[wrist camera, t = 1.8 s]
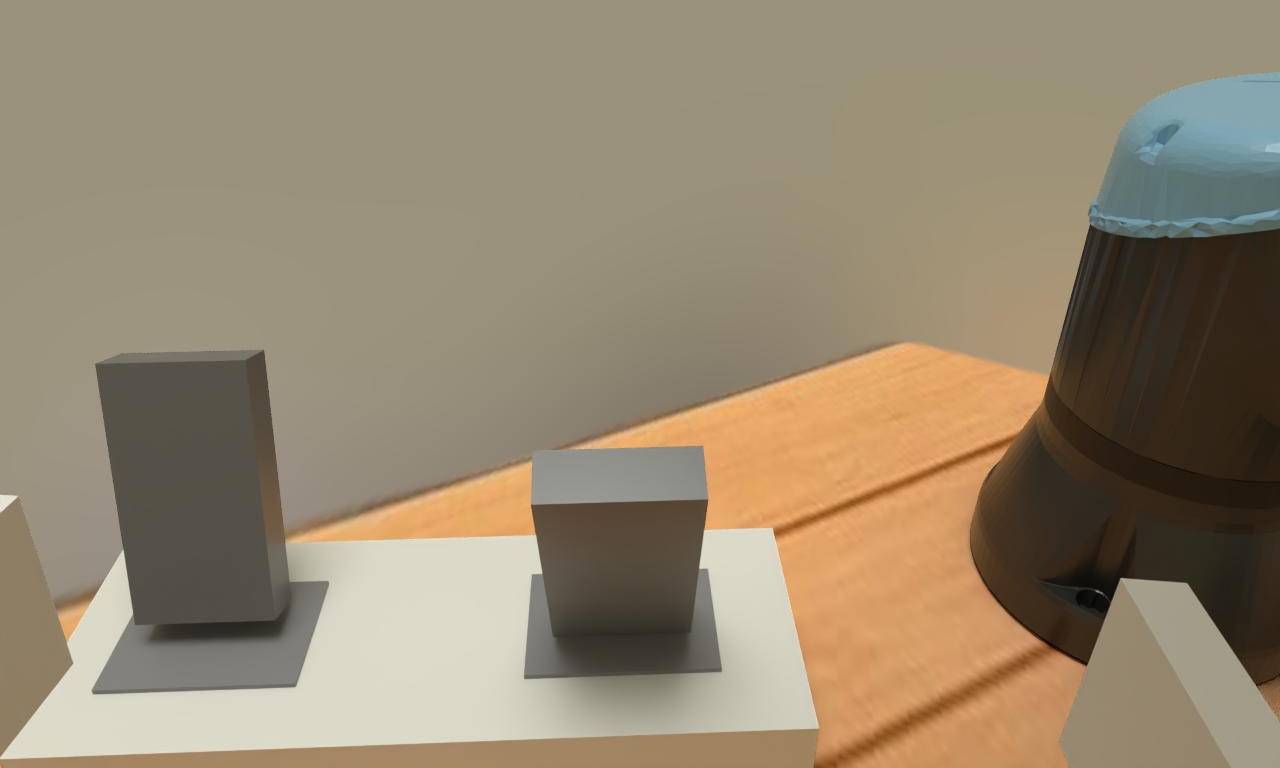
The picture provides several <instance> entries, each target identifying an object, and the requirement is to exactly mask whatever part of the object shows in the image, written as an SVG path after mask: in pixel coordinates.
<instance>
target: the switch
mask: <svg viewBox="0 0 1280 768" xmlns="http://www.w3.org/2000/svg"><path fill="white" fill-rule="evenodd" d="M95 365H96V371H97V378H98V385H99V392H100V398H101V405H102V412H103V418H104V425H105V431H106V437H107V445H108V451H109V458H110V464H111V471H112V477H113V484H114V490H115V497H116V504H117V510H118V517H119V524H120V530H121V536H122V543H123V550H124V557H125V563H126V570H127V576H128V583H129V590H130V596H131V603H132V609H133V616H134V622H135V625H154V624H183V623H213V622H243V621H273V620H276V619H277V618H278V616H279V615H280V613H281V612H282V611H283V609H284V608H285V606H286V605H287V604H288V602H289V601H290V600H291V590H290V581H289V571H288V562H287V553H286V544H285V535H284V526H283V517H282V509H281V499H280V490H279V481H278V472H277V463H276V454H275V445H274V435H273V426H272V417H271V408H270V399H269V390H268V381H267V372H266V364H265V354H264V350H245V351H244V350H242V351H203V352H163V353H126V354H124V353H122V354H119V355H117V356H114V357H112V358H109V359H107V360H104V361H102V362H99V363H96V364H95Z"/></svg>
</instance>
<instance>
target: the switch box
mask: <svg viewBox="0 0 1280 768" xmlns="http://www.w3.org/2000/svg"><path fill="white" fill-rule="evenodd" d="M285 544H286V553H287V562H288V571H289V581H290V590H291V600H290V601H289V602H288V604H287V605H286V606H285V608H284V609H283V611H282V612H281V613H280V615H279V616H278V618H277V619H276V620H273V621H243V622H213V623H183V624H154V625H135V622H134V616H133V609H132V603H131V596H130V590H129V583H128V576H127V570H126V563H125V557H124V550H123V551H122V553H121V554H120V556H119V558H118V559H117V561H116V563H115V564H114V566H113V567H112V569H111V571H110V572H109V574H108V576H107V577H106V579H105V581H104V582H103V584H102V586H101V587H100V589H99V591H98V592H97V594H96V596H95V597H94V599H93V601H92V602H91V604H90V606H89V607H88V609H87V611H86V612H85V614H84V616H83V617H82V619H81V621H80V622H79V624H78V626H77V627H76V629H75V631H74V632H73V634H72V636H71V637H70V639H69V641H68V642H67V645H68V648H69V651H70V654H71V657H72V660H73V663H74V664H73V665H72V666H71V667H70V669H69V670H68V671H67V673H66V674H65V675H64V676H63V678H62V679H61V680H60V681H59V683H58V684H57V685H56V687H55V688H54V689H53V690H52V692H51V693H50V694H49V696H48V697H47V698H46V699H45V701H44V702H43V703H42V704H41V706H40V707H39V708H38V710H37V711H36V712H35V713H34V715H33V716H32V717H31V719H30V720H29V721H28V722H27V724H26V725H25V726H24V728H23V729H22V730H21V731H20V733H19V734H18V735H17V736H16V738H15V739H14V740H13V742H12V743H11V744H10V745H9V747H8V748H7V749H6V751H5V752H4V753H3V754H2V756H1V757H0V765H1V767H2V768H813V766H814V760H815V753H816V746H817V740H818V733H819V725H818V721H817V717H816V713H815V708H814V704H813V700H812V695H811V691H810V687H809V682H808V678H807V674H806V670H805V665H804V661H803V657H802V652H801V648H800V644H799V640H798V635H797V631H796V627H795V622H794V618H793V614H792V610H791V605H790V601H789V597H788V592H787V588H786V584H785V579H784V575H783V571H782V567H781V562H780V558H779V554H778V549H777V545H776V541H775V537H774V532H773V528H752V529H720V530H704V535H703V543H702V551H701V558H700V566H699V574H698V582H697V589H696V597H695V605H694V612H693V620H692V628H691V632H690V633H661V634H632V635H603V636H574V637H553V634H552V628H551V622H550V616H549V610H548V604H547V598H546V592H545V586H544V580H543V574H542V568H541V562H540V556H539V550H538V544H537V538H536V535H527V536H495V537H463V538H431V539H399V540H367V541H335V542H303V543H285Z"/></svg>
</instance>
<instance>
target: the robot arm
mask: <svg viewBox="0 0 1280 768" xmlns="http://www.w3.org/2000/svg"><path fill="white" fill-rule="evenodd" d="M1088 216H1089V218H1090V219H1089V222H1090V227H1089V230H1088V234H1087V238H1086V242H1085V246H1084V249H1083V253H1082V257H1081V261H1080V264H1079V268H1078V272H1077V276H1076V280H1075V283H1074V287H1073V291H1072V294H1071V298H1070V302H1069V306H1068V309H1067V313H1066V317H1065V321H1064V324H1063V329H1062V332H1061V336H1060V339H1059V343H1058V347H1057V351H1056V355H1055V358H1054V362H1053V366H1052V370H1051V373H1050V377H1049V381H1048V384H1047V388H1046V391H1045V395H1044V398H1043V401H1042V403H1041V405H1040V406H1039V407H1038V408H1037V410H1036V411H1035V413H1034V414H1033V415H1032V417H1031V418H1030V419H1029V421H1028V422H1027V423H1026V425H1025V426H1024V427H1023V429H1022V430H1021V431H1020V433H1019V434H1018V435H1017V437H1016V438H1015V440H1014V441H1013V443H1012V444H1011V445H1010V447H1009V448H1008V450H1007V451H1006V453H1005V454H1004V456H1003V457H1002V459H1001V460H1000V461H999V462H998V463H997V464H996V465H995V466H994V467H993V468H992V469H991V471H990V472H989V473H988V475H987V477H986V478H985V480H984V482H983V484H982V487H981V489H980V492H979V495H978V499H977V503H976V507H975V511H974V515H973V519H972V523H971V530H970V541H971V549H972V553H973V557H974V560H975V562H976V565H977V567H978V570H979V571H980V573H981V575H982V577H983V579H984V580H985V582H986V584H987V585H988V587H989V588H990V589H991V591H992V592H993V593H994V595H995V596H996V597H997V598H998V599H999V601H1000V602H1001V603H1002V604H1003V605H1004V606H1005V607H1006V608H1007V609H1008V610H1009V611H1010V612H1011V613H1012V614H1013V615H1014V616H1015V617H1016V618H1017V619H1019V620H1020V621H1021V622H1022V623H1023V624H1025V625H1026V626H1027V627H1028V628H1030V629H1031V630H1032V631H1034V632H1035V633H1036V634H1038V635H1039V636H1041V637H1042V638H1044V639H1045V640H1047V641H1048V642H1050V643H1051V644H1053V645H1055V646H1056V647H1058V648H1060V649H1061V650H1063V651H1065V652H1067V653H1069V654H1070V655H1072V656H1074V657H1076V658H1078V659H1080V660H1082V661H1085V662H1087V663H1088V666H1087V668H1086V671H1085V674H1084V676H1083V679H1082V681H1081V684H1080V687H1079V689H1078V692H1077V695H1076V697H1075V700H1074V703H1073V705H1072V708H1071V710H1070V713H1069V716H1068V718H1067V721H1066V724H1065V726H1064V729H1063V732H1062V734H1061V737H1060V740H1059V743H1060V746H1061V748H1062V751H1063V753H1064V756H1065V758H1066V761H1067V763H1068V765H1069V768H1280V721H1279V719H1278V718H1277V717H1276V715H1275V714H1274V712H1273V711H1272V709H1271V708H1270V706H1269V705H1268V703H1267V702H1266V700H1265V699H1264V697H1263V696H1262V694H1261V693H1260V691H1259V690H1258V688H1257V687H1256V685H1255V684H1258V683H1262V682H1264V681H1267V680H1269V679H1272V678H1274V677H1276V676H1277V675H1279V674H1280V72H1277V73H1261V74H1250V75H1240V76H1233V77H1226V78H1220V79H1214V80H1209V81H1204V82H1198V83H1195V84H1191V85H1187V86H1184V87H1180V88H1177V89H1174V90H1172V91H1169V92H1167V93H1164V94H1162V95H1160V96H1158V97H1156V98H1154V99H1153V100H1151V101H1149V102H1148V103H1147V104H1145V105H1144V106H1142V107H1141V108H1140V109H1139V110H1138V111H1137V112H1136V113H1135V114H1134V115H1133V116H1132V117H1131V118H1130V119H1129V120H1128V121H1127V123H1126V124H1125V126H1124V127H1123V129H1122V131H1121V132H1120V135H1119V137H1118V139H1117V142H1116V145H1115V148H1114V151H1113V154H1112V157H1111V160H1110V163H1109V166H1108V168H1107V171H1106V174H1105V177H1104V180H1103V183H1102V186H1101V189H1100V192H1099V194H1098V195H1097V196H1096V197H1095V199H1094V200H1093V202H1092V203H1091V205H1090V208H1089V213H1088ZM73 664H74V663H73V660H72V657H71V654H70V651H69V648H68V645H67V642H66V639H65V636H64V633H63V630H62V627H61V624H60V621H59V618H58V615H57V612H56V609H55V606H54V603H53V600H52V597H51V594H50V591H49V588H48V585H47V582H46V579H45V576H44V573H43V570H42V567H41V564H40V560H39V557H38V554H37V551H36V548H35V545H34V543H33V539H32V536H31V533H30V530H29V527H28V524H27V521H26V518H25V515H24V512H23V509H22V506H21V503H20V500H19V497H18V496H9V495H0V757H1V756H2V754H3V753H4V752H5V751H6V749H7V748H8V747H9V745H10V744H11V743H12V742H13V740H14V739H15V738H16V736H17V735H18V734H19V733H20V731H21V730H22V729H23V728H24V726H25V725H26V724H27V722H28V721H29V720H30V719H31V717H32V716H33V715H34V713H35V712H36V711H37V710H38V708H39V707H40V706H41V704H42V703H43V702H44V701H45V699H46V698H47V697H48V696H49V694H50V693H51V692H52V690H53V689H54V688H55V687H56V685H57V684H58V683H59V681H60V680H61V679H62V678H63V676H64V675H65V674H66V673H67V671H68V670H69V669H70V667H71V666H72V665H73Z"/></svg>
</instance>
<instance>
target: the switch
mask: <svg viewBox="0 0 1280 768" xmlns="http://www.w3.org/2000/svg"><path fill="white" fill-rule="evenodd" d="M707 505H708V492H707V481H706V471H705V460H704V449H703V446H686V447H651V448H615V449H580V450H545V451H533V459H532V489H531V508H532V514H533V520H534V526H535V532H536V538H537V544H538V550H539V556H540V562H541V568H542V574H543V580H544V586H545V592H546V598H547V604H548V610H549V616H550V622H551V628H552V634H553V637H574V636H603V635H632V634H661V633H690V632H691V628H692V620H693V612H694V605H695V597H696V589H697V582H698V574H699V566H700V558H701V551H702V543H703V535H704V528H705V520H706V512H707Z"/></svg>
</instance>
